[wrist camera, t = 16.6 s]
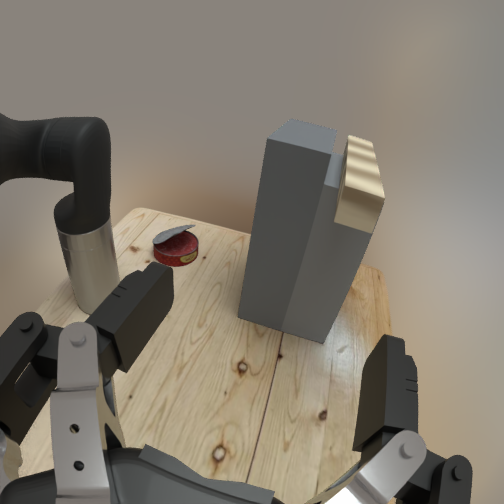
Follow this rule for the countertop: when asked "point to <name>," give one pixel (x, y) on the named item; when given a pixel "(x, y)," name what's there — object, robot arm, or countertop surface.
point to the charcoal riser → (300, 236)
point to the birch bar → (359, 187)
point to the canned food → (176, 246)
